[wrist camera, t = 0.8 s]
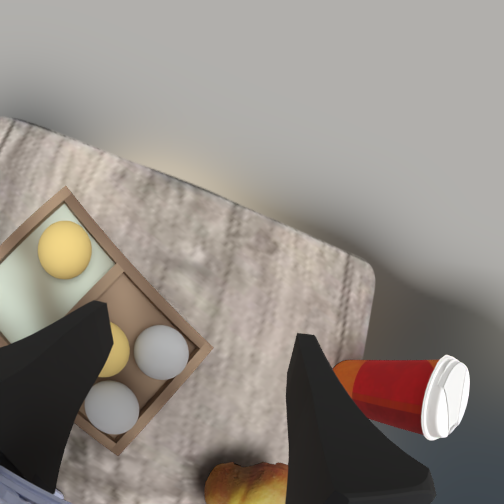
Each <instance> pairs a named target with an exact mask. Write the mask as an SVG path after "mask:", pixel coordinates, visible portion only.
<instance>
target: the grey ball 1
mask: <svg viewBox="0 0 504 504" xmlns="http://www.w3.org/2000/svg"><path fill="white" fill-rule="evenodd" d="M85 412H86V415H87V417H88V419H89V420H90V422H91V423H92V424H93V425H94V426H95V427H96V428H97V429H99V430H100V431H102V432H105V433H108V434H122V433H125V432H127V431H129V430H130V429H131V428H132V427H133V426H134V425H135V423H136V422H137V420H138V417H139V404H138V401H137V398H136V396H135V395H134V393H133V392H132V391H131V390H130V389H129V388H128V387H127V386H126V385H124V384H122V383H120V382H117V381H112V380H106V381H101V382H98V383H97V384H95V385H94V386H92V388H91V390H90V391H89V393H88V395H87V396H86V398H85Z"/></svg>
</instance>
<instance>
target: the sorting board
mask: <svg viewBox="0 0 504 504" xmlns="http://www.w3.org/2000/svg"><path fill="white" fill-rule="evenodd" d="M58 221H72V222H74V223H77V224H78V225H80V226H81V227H82V228H83V229H84V230H85V231H86V232H87V234H88V236H89V238H90V241H91V246H92V254H91V259H90V262H89V264H88V266H87V267H86V269H85V270H84V271H83V272H82V273H81V274H80V275H78V276H77V277H74V278H71V279H58V278H55V277H53V276H51V275H50V274H48V273H47V272H46V271H45V270H44V268H43V267H42V265H41V263H40V260H39V257H38V243H39V240H40V237H41V235H42V233H43V232H44V231H45V229H46V228H47V227H49V226H50V225H51V224H53V223H55V222H58ZM93 300H96V301H100V302H105V303H107V308H108V314H109V319H110V322H112V323H114V324H115V325H117V326H118V327H119V328H120V329H121V330H122V331H123V332H124V334H125V335H126V337H127V339H128V342H129V347H130V354H129V359H128V362H127V364H126V365H125V367H124V368H123V369H122V370H121V371H120V372H119V373H117V374H116V375H113V376H110V377H98V378H97V379H96V381H95V383H94V384H93V386H94V385H95V384H97V383H98V382H101V381H106V380H112V381H117V382H120V383H122V384H124V385H126V386H127V387H128V388H129V389H130V390H131V391H132V392H133V393H134V395H135V396H136V398H137V401H138V404H139V417H138V420H137V422H136V423H135V425H134V426H133V427H132V428H131V429H130V430H129V431H127V432H125V433H122V434H108V433H105V432H102V431H100V430H99V429H97V428H96V427H95V426H94V425H93V424H92V423H91V422H90V420H89V419H88V417H87V415H86V412H85V400H84V402H83V404H82V405H81V407H80V409H79V411H78V414H77V416H76V419H75V421H74V423H75V424H76V425H78V426H79V427H80V428H81V429H83V430H84V431H85V432H86V433H88V434H89V435H90V436H91V437H93V438H94V439H95V440H97V441H98V442H99V443H101V444H102V445H103V446H105V447H106V448H107V449H109V450H110V451H112V452H113V453H114V454H116V455H117V456H119V455H120V454H121V453H122V451H123V450H124V449H125V448H126V447H127V446H128V445H129V444H130V443H131V442H132V440H133V439H134V438H135V437H136V436H137V435H138V434H139V433H140V432H141V431H142V429H143V428H144V427H145V426H146V425H147V424H148V423H149V422H150V420H151V419H152V418H153V417H154V416H155V415H156V414H157V413H158V411H159V410H160V409H161V408H162V407H163V406H164V405H165V403H166V402H167V401H168V400H169V399H170V398H171V397H172V396H173V394H174V393H175V392H176V391H177V390H178V389H179V388H180V386H181V385H182V384H183V383H184V382H185V381H186V379H187V378H188V377H189V376H190V375H191V374H192V372H193V371H194V370H195V369H196V368H197V367H198V366H199V364H200V363H201V362H202V361H203V360H204V359H205V357H206V356H207V355H208V354H209V353H210V351H211V350H212V349H213V347H212V346H211V345H210V344H209V343H208V342H207V341H206V340H205V339H204V338H203V337H202V336H201V335H200V334H199V333H198V332H197V331H196V330H195V329H194V328H193V327H192V326H191V325H190V324H188V323H187V322H186V321H185V320H184V319H183V318H182V317H181V316H180V314H179V313H178V312H177V311H176V310H175V309H174V308H173V307H172V306H171V305H170V304H169V303H168V302H167V301H166V300H165V299H164V298H163V297H162V296H161V295H160V294H159V293H158V292H157V291H156V290H155V289H154V288H153V287H152V285H151V284H150V283H149V282H148V281H147V280H146V279H145V278H144V277H143V276H142V275H141V274H140V273H139V271H138V270H137V269H136V268H135V267H134V266H133V265H132V264H131V263H130V262H129V260H128V259H127V258H126V257H125V256H124V255H123V254H122V253H121V251H120V250H119V249H118V248H117V247H116V246H115V245H114V243H113V242H112V241H111V240H110V239H109V238H108V236H107V235H106V234H105V233H104V232H103V231H102V229H101V228H100V227H99V226H98V225H97V223H96V222H95V221H94V220H93V219H92V217H91V216H90V215H89V214H88V213H87V211H86V210H85V209H84V208H83V206H82V205H81V204H80V203H79V202H78V200H77V199H76V198H75V197H74V195H73V194H72V193H71V191H70V190H69V189H68V188H67V186H65V187H64V188H62V189H61V190H60V191H59V192H58V193H56V194H55V195H54V196H53V197H52V198H51V199H49V200H48V201H47V202H46V203H45V204H44V205H43V206H41V207H40V208H39V209H38V210H37V211H36V212H35V213H34V214H33V215H31V216H30V217H29V218H28V219H27V220H26V221H25V222H24V223H23V224H22V225H21V226H20V227H19V228H18V229H17V230H16V231H15V232H13V233H12V234H11V235H10V236H9V237H8V238H7V239H6V240H5V241H4V242H3V243H2V244H1V245H0V347H3V346H6V345H9V344H12V343H14V342H16V341H19V340H21V339H23V338H25V337H28V336H30V335H32V334H34V333H35V332H37V331H39V330H41V329H43V328H45V327H47V326H49V325H50V324H52V323H54V322H56V321H57V320H59V319H61V318H63V317H64V316H66V315H68V314H69V313H71V312H73V311H74V310H76V309H78V308H80V307H81V306H83V305H85V304H87V303H89V302H91V301H93ZM155 325H165V326H169V327H171V328H173V329H175V330H177V331H178V332H179V333H180V334H181V335H182V336H183V337H184V339H185V341H186V343H187V345H188V350H189V357H188V362H187V364H186V366H185V368H184V370H183V371H182V372H181V373H180V374H179V375H177V376H175V377H174V378H171V379H167V380H158V379H154V378H151V377H149V376H147V375H146V374H144V373H143V372H142V371H141V370H140V368H139V367H138V365H137V363H136V361H135V358H134V345H135V342H136V339H137V338H138V336H139V335H140V334H141V333H142V332H143V331H144V330H145V329H147V328H149V327H151V326H155Z"/></svg>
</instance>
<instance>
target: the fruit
mask: <svg viewBox="0 0 504 504" xmlns="http://www.w3.org/2000/svg"><path fill="white" fill-rule="evenodd" d="M287 478H288V465H286V464H283V463H276V465H274V464H269V463H266V462H262V463H259V464H257V465H256V464H255V465H253V466H249V467H241V466H240V465H238V464H235V463H234V462H229V463H226V464H224V463H222V464H219V465H216V467H214V468H213V470H212V472H211V473H210V475H209V477H208V480H207V481H206V483H205V489H204V493H205V501H206V504H285V500H286V490H287Z"/></svg>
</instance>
